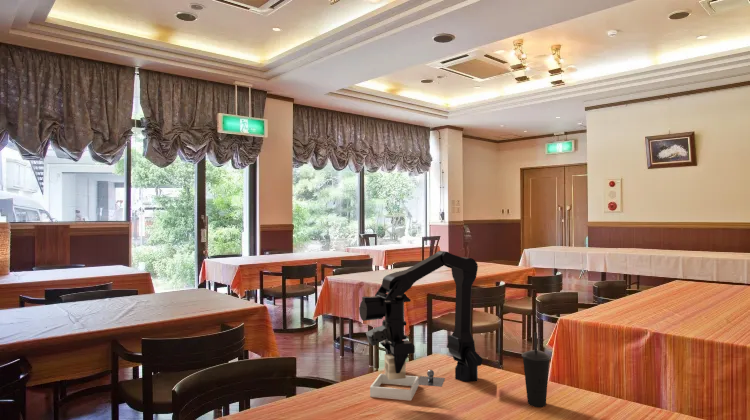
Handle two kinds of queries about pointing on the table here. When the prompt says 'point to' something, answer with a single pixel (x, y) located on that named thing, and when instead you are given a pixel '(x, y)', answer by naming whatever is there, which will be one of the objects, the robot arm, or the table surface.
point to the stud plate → (431, 380)
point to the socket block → (393, 368)
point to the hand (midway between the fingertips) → (395, 370)
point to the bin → (394, 392)
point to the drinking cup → (536, 375)
